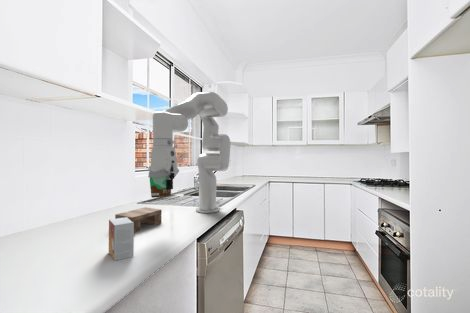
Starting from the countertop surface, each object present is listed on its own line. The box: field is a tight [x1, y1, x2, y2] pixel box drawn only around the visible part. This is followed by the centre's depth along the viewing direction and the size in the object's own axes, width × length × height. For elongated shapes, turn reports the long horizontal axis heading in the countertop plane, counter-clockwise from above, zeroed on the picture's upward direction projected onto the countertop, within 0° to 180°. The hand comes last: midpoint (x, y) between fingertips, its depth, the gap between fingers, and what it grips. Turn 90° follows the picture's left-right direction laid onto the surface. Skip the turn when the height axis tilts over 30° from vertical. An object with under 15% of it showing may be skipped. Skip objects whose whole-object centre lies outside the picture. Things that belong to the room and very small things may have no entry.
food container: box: [148, 171, 172, 198], centre depth 97 cm, size 12×6×10 cm, turn 165°
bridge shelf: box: [114, 206, 163, 233], centre depth 106 cm, size 16×10×6 cm, turn 153°
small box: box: [108, 217, 135, 262], centre depth 76 cm, size 8×6×10 cm
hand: (163, 188), depth 98 cm, fingers closed on food container, 5 cm apart
